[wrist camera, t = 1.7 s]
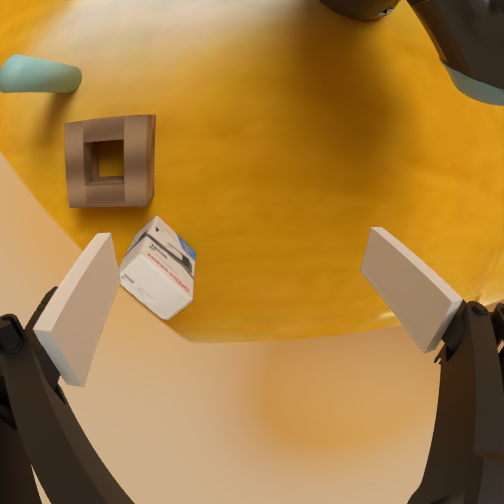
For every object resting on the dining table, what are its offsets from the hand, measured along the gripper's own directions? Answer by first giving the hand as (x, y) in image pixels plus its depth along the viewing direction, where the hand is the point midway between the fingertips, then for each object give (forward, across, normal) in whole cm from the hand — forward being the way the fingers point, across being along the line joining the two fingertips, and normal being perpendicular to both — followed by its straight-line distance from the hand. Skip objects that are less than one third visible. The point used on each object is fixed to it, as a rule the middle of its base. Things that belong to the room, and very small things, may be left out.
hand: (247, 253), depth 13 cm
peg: (+25, -22, +14) cm, 36 cm away
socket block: (+25, -15, +2) cm, 29 cm away
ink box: (+25, -8, -12) cm, 29 cm away
